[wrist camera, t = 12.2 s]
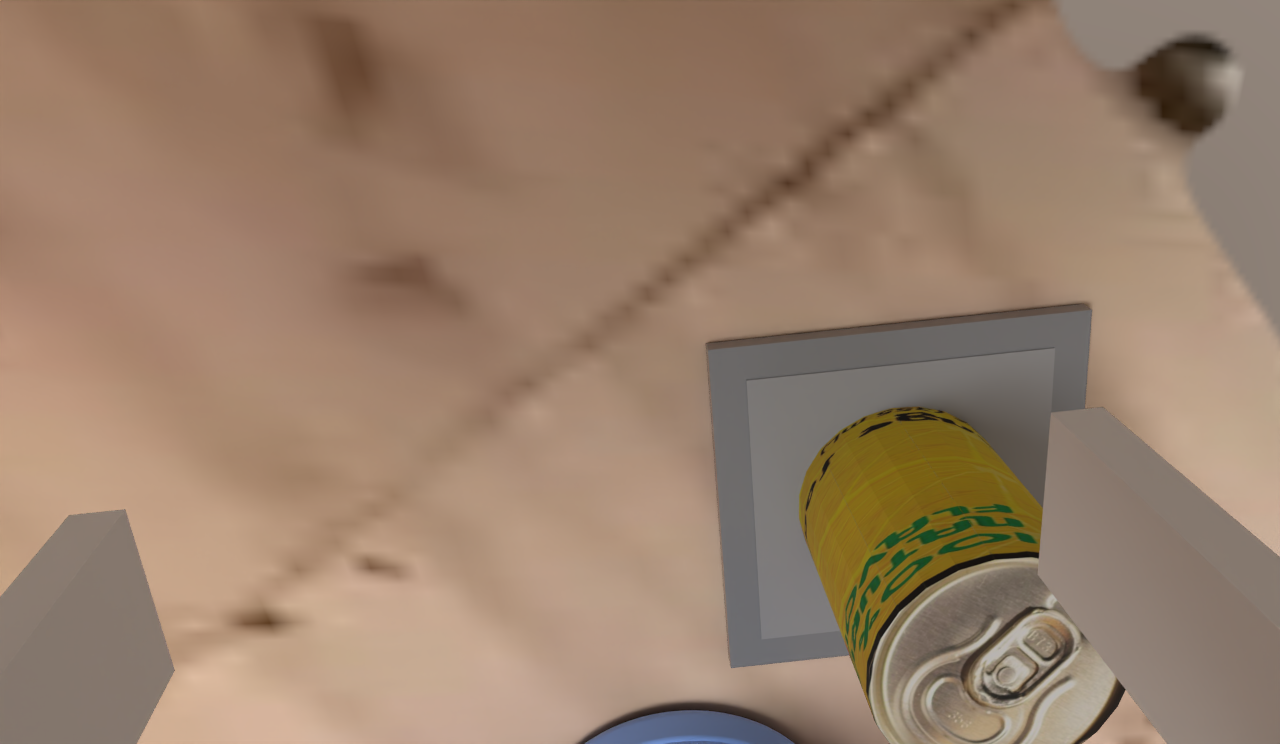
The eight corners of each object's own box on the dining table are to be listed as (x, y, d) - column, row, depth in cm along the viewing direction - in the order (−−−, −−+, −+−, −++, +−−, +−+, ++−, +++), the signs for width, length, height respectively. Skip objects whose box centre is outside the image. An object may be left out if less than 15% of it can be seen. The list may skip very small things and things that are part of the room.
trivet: (728, 657, 50) (731, 669, 49) (705, 343, 44) (708, 350, 43) (1061, 621, 50) (1069, 632, 49) (1083, 303, 44) (1093, 310, 43)
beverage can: (757, 525, 46) (813, 707, 35) (887, 367, 44) (992, 508, 33) (911, 619, 48) (1009, 817, 37) (1042, 474, 46) (1190, 639, 35)
